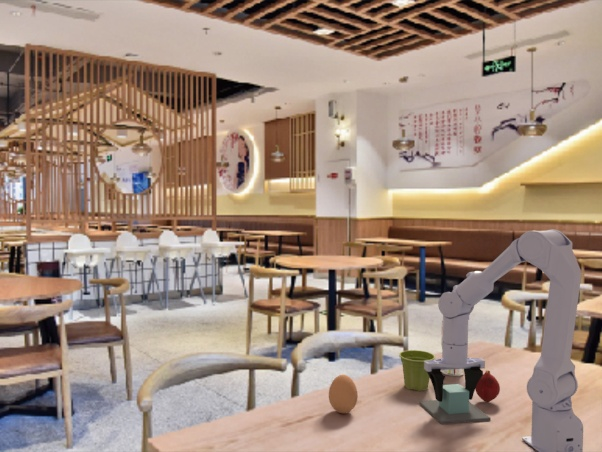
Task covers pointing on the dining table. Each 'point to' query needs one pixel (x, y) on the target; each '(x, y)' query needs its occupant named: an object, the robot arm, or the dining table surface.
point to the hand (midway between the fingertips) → (453, 399)
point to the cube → (455, 399)
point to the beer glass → (450, 371)
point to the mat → (447, 418)
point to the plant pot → (415, 369)
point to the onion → (487, 387)
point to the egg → (343, 394)
